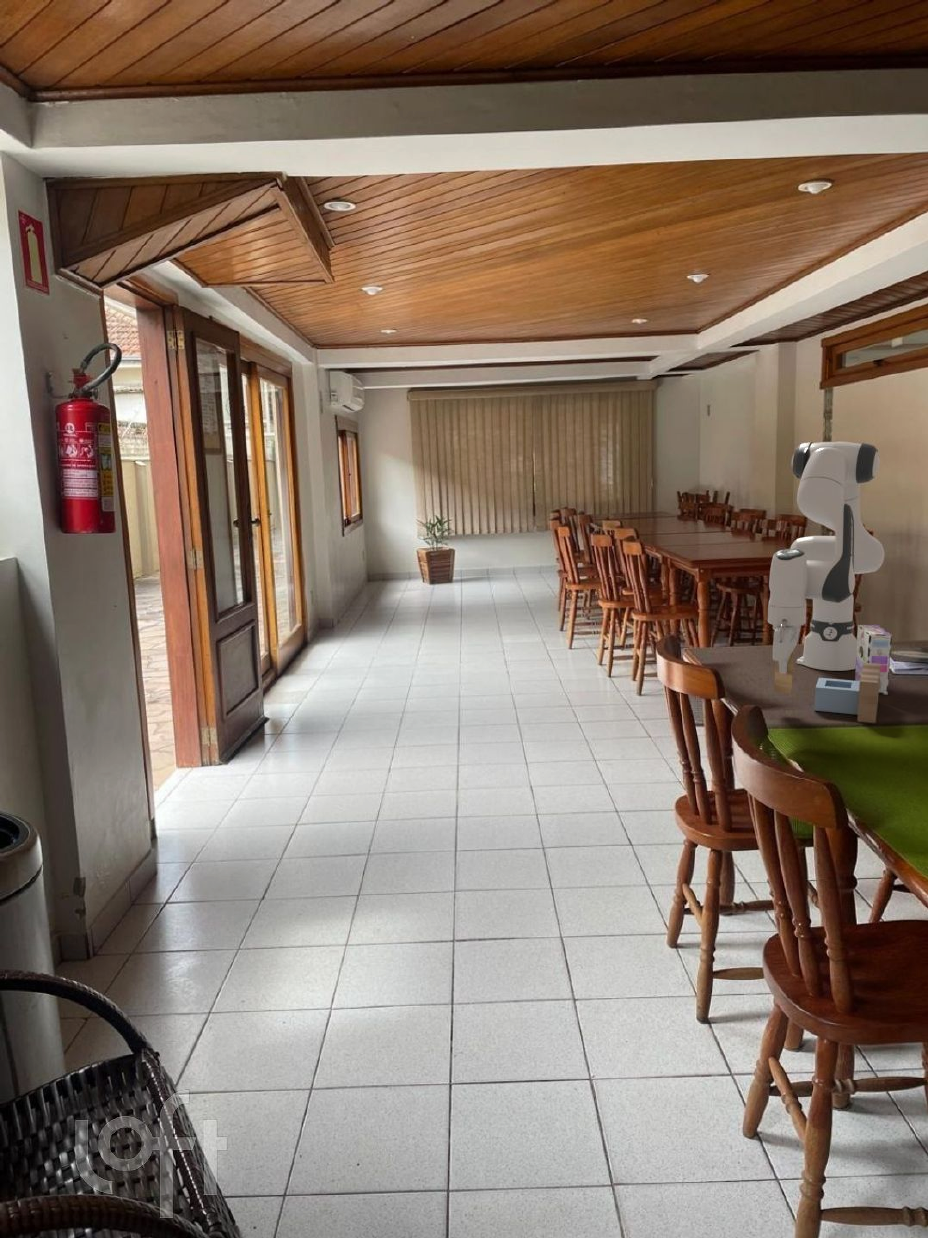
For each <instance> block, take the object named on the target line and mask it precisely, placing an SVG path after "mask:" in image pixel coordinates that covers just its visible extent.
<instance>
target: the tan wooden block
mask: <svg viewBox="0 0 928 1238" xmlns="http://www.w3.org/2000/svg"><path fill="white" fill-rule="evenodd" d="M795 654H796V652H795V649H794V650H793V652H792V654H791V656H790V658H789V660H788V663H787V673H786V674H780V673H779V662H778V661H775V664H774V665H775V666H774V685H773V686H774V687H773V688H774V689H773V691H774V692H775V693H782V694H783V693H784V694H792V692H793V691H794V679H795V678H794V675H795V673H794V672H795Z"/></svg>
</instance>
